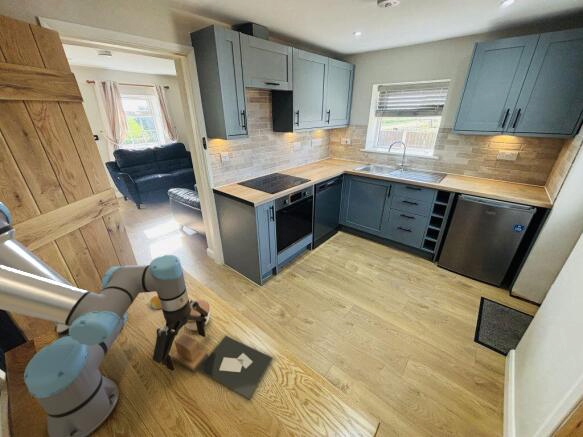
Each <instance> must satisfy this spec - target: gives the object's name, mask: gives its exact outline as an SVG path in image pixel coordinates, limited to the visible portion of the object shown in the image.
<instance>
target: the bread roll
mask: <svg viewBox="0 0 583 437" xmlns="http://www.w3.org/2000/svg"><path fill="white" fill-rule="evenodd" d="M149 305H150V306H151V308H152V309H155V310H159V309H162V308H161V305H160V301H159V297H158V294H156V295H154V296H152V297H151V298H150V302H149Z"/></svg>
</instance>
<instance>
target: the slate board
mask: <svg viewBox="0 0 583 437" xmlns="http://www.w3.org/2000/svg"><path fill="white" fill-rule="evenodd" d="M272 361H273V357H272V356H270V355H267V354H265V353H263V352H261V351H259V350H258V349H255V348H253V347H251V346H248V345H246V344H245V343H242V342H240V341H238V340H236V339H233V338H231V337H229V336H227V335H225V336H224V337H223V338H222V340H221V341H220V342H219V343H218V344H217V346H216V347H215V348H214V349H213V351H212V352H211V353H210V354H209V355H208V357H207V358H206V359H205V361H204V362H203V363H202V364H201V365H200V367H199V368H198V369H197V371H198V372H200V373H201V374H203V375H205V376H206V377H208V378H210V379H212V380H214V381H215V382H218V384H221V385H222V386H224V387H226V388H228V389H229V390H231V391H233V392H235V393H237V394H238V395H239V396H242V397H243V398H245V399H247V400H250V399H251V397H252V396H253V395H254V393H255V391H256V389H257V387H258V385H259V383H260V382H261V381H262V378H263V377H264V375H265V373H266V372H267V370H268V368H269V366H270V364H271V362H272Z"/></svg>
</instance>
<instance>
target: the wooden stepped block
mask: <svg viewBox="0 0 583 437" xmlns="http://www.w3.org/2000/svg"><path fill="white" fill-rule="evenodd" d="M173 343H174V346H175V351H174V352H173V353H172V354H171V359H172V361H174V362H176V363H177V364H179V365H180V366H182V367H185V368H186V369H188V370H189V371H191V372H193V373H196V372H197V371H198V369H199V368H200V366H201V365H202V364H203V363H204V362H205V360H206V359H207V358H208V357H209V355H208V351H206V350H204V349H202V348H200V344H199V341H198V340H196V339H194V338H193V337H191V336H188V335H186V334H184V333H181V334H180V335H179V336H178V337H177V338H176V339H174V341H173Z"/></svg>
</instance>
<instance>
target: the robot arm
mask: <svg viewBox="0 0 583 437" xmlns="http://www.w3.org/2000/svg"><path fill="white" fill-rule="evenodd" d="M10 214H11V211H10V210H9V209H8V207H7V206H6V205H5V204H4V203H2V202H1V201H0V310H3V311H6V312H11V313H14V314H18V315H23V316H26V317H27V316H28V317H31V318H35V319H39V320H43V321H47V322H51V323H54V324H57V325H55V327H54V329H55V331H56V332H57V334H58V338H56V339H55V340H53V341H52V342H51V343H50V345H44V347H41V349H40V350H39V351H37V352H36V353H35V355H34V356H33V357H32V358H31V359H30V361H29V362H28V364H27V365H26V367H25V369H24V372H23V380H24V383H25V385H26V387H27V388H26V389H27V390H28V392H29V395H31V396H33V397H34V398H35V400H36V401H37V402H38V403H39V405H40V406H41V408H42V410H44V412H45V413H46V414H47V427H46V428H47V433H48V436H49V437H90V436H91V435H92V434H94V433H95V432H96V431H97V430H99V429H100V428H101V427H102V426H103V425H104V424H105V423H106V422H107V421H108V419H109V418H110V417H111V416H112V414H113V412H114V411H115V410H116V407H117V406H118V402H119V399H120V390H119V387H118V386H117V384H116V382H115V381H114V380H112V379H110V378H108V377H107V376H104V375H102V373H101V371H100V369H99V367H100V365H101V363H102V362H103V360H104V359H105V357H106V355H107V354H108V353H109V351H110V349H111V348H112V346H113V345H114V343H115V342H116V340H117V339H118V337H119V336H120V335H121V333H122V332H123V330H124V327H125V326H126V323H127V322H128V312H127V311H128V310H129V309H130V307H131V306H132V304H133V303H134V301H135V300H136V298H138V296H139V294H143V293H153V292H155V293H156V295H158V297H159V301H160V305H161V308H160V309H161V311H162V315H163V318H164V321H165V325H164V326H163V327H162V328H160V327H158V328H156V331H155V332H156V339H155V346H154V350H153V354H152V361H153V362H155V363H157V364H162V365H163V366H165V367H166V369H168V370H169V371H170V372H174V371H175V366H174V363H173V359H172V355H171V354H170V351H171V349H172V347H173V343H174V341H175V338H176V336H177V335H178V333H179V332H180V330H181V329H182V328H183V327H185V326H184V325H185V324H186V323H187V321H188V320H195V321H196V325H197V330H196V331H197V334H198V335H199V336H201V337H202V338H205V337H206V330H205V327H206V325H205V322H206V320H207V319H205V317H207V316H208V313H207V312H206V311H205V310H203V309H202V308H201V307H200V306H199V304H198V302H196V301H194V300H193V299H191V300H190V299H189V294H188V290H187V289H188V288H187V285H186V281H185V275H184V268H183V267H182V263H181V261H180V259H179V257H178V256H176V255H174V254H164V255H161V256H157V257H155V258H153V259H152V260H151V261H150V263H149V264H135V265H133V264H132V265H128V264H126V265H120V266H112V267H111V268H109V269H108V270H106V271H105V273H104V277H102V278H101V279H102V280H101V288H102V290H101V291H100V292H99V293H96V292H92V291H89V290H85V289H82V288H79V287H76V286H74V285H73V284H72V283H71V282H70V281H68V280H67V279H66V278H65V277H63V276H62V275H61V274H59V273H58V272H57V271H56V270H55V269H54V268H52V267H51V266H50V265H48V264H47V263H46V262H45V261H43V260H42V259H41V258H39V257H38V256H37V255H36V254H35V253H33V251H31V250H30V249H28V248H27V247H26V246H24V244H22V243H21V242H19V241H18V240H17V239H16V238H15V235H16V234H15V233H16V229H15V228H14V227H12V226H11V223H12V220H13V218H12V215H10ZM189 302H190V303H189ZM191 309H195V310H196V311H197V312H199V313H200V314H201V315H200V316H197V315H192V314H190V313H191Z"/></svg>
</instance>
